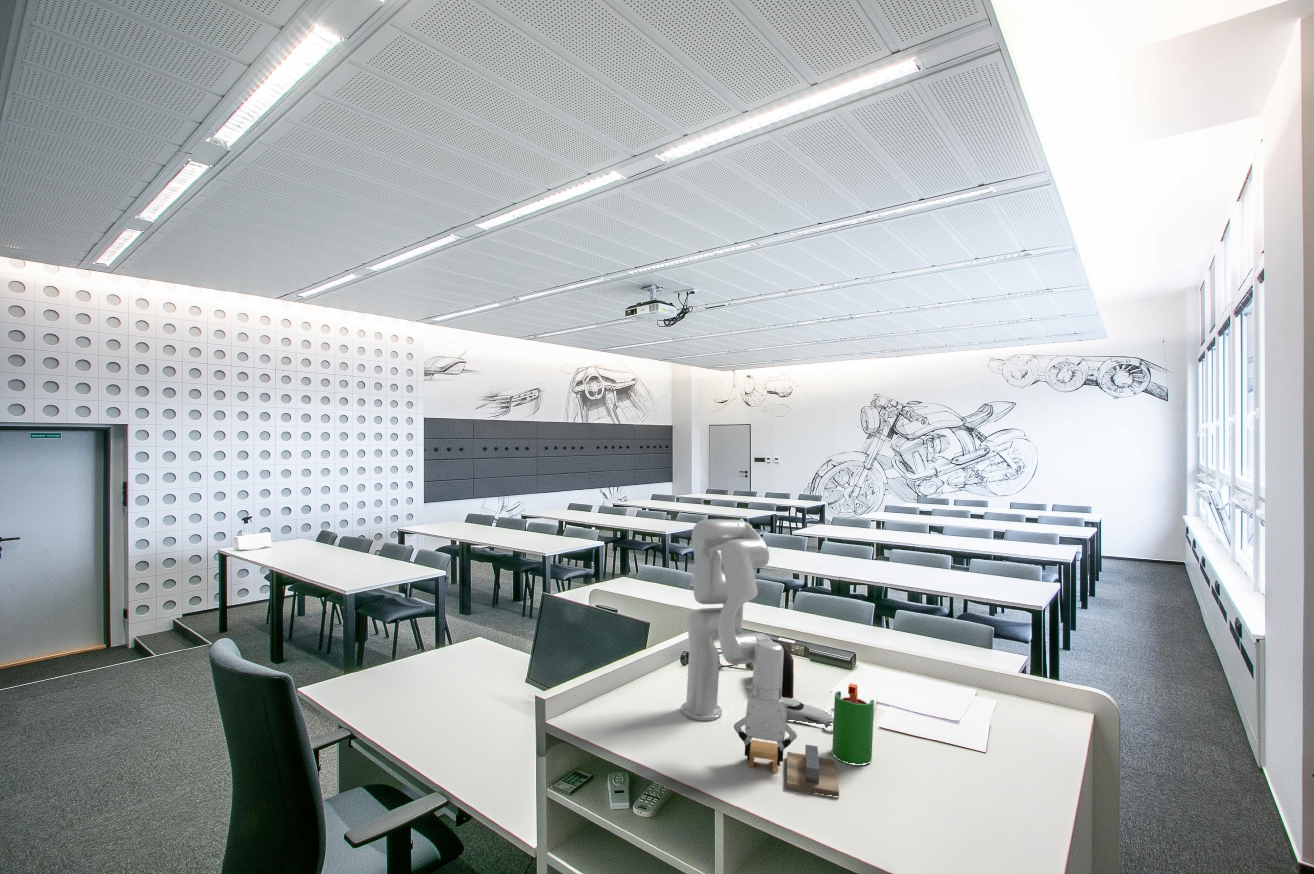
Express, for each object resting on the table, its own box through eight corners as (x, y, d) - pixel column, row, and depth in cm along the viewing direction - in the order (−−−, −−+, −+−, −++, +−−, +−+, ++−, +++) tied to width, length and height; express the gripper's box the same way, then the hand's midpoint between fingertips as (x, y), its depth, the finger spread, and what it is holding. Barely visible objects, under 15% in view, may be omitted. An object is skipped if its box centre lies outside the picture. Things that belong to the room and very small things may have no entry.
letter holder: (782, 678, 217) (784, 639, 218) (793, 700, 198) (795, 657, 198) (754, 676, 218) (756, 637, 218) (763, 698, 198) (765, 655, 198)
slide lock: (750, 756, 158) (751, 739, 158) (777, 761, 156) (778, 743, 156) (748, 768, 152) (749, 750, 152) (776, 772, 150) (777, 754, 150)
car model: (839, 735, 174) (840, 718, 174) (757, 717, 184) (758, 700, 184) (843, 720, 185) (843, 704, 185) (765, 704, 194) (765, 688, 194)
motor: (871, 754, 163) (874, 680, 164) (871, 769, 155) (875, 691, 155) (832, 746, 167) (836, 673, 167) (831, 760, 158) (834, 684, 159)
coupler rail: (804, 758, 156) (805, 744, 156) (816, 759, 155) (817, 746, 155) (806, 781, 144) (806, 767, 144) (818, 784, 143) (819, 769, 143)
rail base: (787, 757, 159) (787, 751, 159) (833, 764, 156) (834, 759, 156) (786, 789, 143) (786, 782, 143) (838, 798, 140) (839, 791, 140)
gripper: (731, 691, 153) (728, 762, 152) (801, 701, 149) (798, 774, 148) (734, 681, 160) (731, 748, 160) (801, 690, 156) (797, 759, 156)
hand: (763, 760), depth 154 cm, fingers closed on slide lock, 7 cm apart
